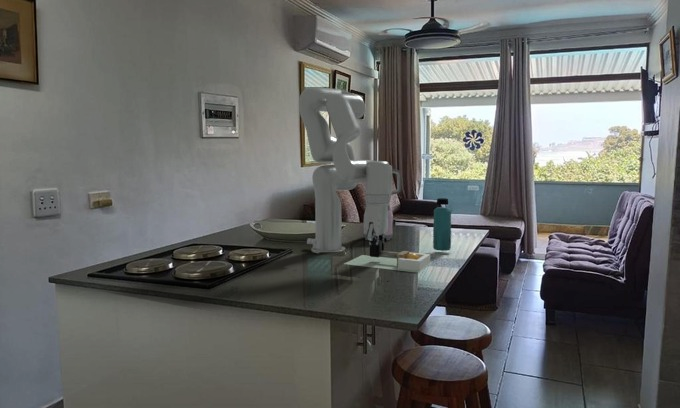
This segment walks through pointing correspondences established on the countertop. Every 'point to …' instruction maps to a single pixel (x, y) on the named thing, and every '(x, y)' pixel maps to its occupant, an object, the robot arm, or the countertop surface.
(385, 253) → the rod
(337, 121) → the robot arm
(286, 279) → the countertop surface
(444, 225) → the beverage bottle
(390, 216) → the blender
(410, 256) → the ball
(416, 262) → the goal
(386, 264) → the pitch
